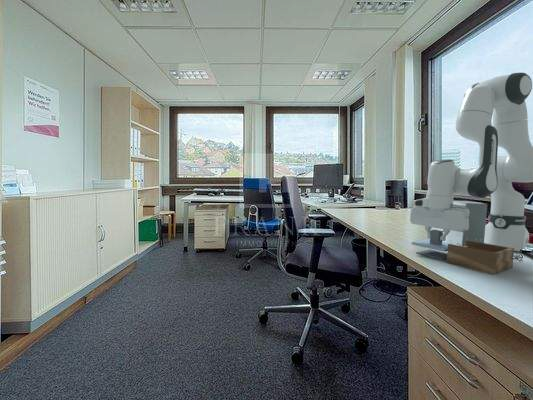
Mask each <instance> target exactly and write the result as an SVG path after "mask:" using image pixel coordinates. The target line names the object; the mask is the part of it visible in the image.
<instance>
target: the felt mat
mask: <svg viewBox="0 0 533 400" xmlns="http://www.w3.org/2000/svg"><path fill="white" fill-rule="evenodd" d="M415 254H418V255H422V256H425V257H429V258H433V259H437V260H442V261H444V260H447V252H443V251H439V250H434V249H430V248H428V249H425V250H421V251H417V252H415Z"/></svg>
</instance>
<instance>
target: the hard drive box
mask: <svg viewBox="0 0 533 400" xmlns="http://www.w3.org/2000/svg"><path fill="white" fill-rule="evenodd" d="M453 204H454V205H463V206H466V207H467V208H468V209H469V210H470V214H469V217H468V218H469V229H468V230H467V231H466V232H459V231H452V230H450V232H449V234H448V235H447V236H446V243H449V244H454V245H459V246H466V240H470V241H475V242H481V243H484V236H485V225H487V223H486V222H487V212H488V203H483V202H476V201H469V200H453ZM465 209H466V208H465Z"/></svg>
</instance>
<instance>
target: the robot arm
mask: <svg viewBox="0 0 533 400" xmlns="http://www.w3.org/2000/svg"><path fill="white" fill-rule="evenodd" d="M532 89H533V81H532V78H531V77H530V75H529V74H527V73H526V72H513V73H512V72H511V73H510V74H506V75H500V76H495V77H493V78H491V79H490V78H489V79H487V80H484V81H482V82H477V83H474V84H473V85H471V86H468V87H467V89H466V91H465V93H464V95H463V99H462V101H461V104H460V105H459V106H460V107H459V110H458V113H457V117H456V120H455V121H456V122H455V130H456V132H457V133H458V135H460V136H461V137H462V138H465V139H467V140H470V141H472V142H475V143H478V146H479V149H478V150H479V154H478V163H477V166H476V168H475V169H472V168H471V169H464V168H463V169H462V168H460V167H458V166H457V165H456V164H455V160H454V159H446V158H445V159H438V160H437V159H436V160H434V161H432V162H431V163H430V165H429V167H428V168H429V169H428V174H427V184H426V185H427V192H426V194H425V195H426V197H423V198H419V199H416V200H415V199H414V200H413V201H412V205H413V206H412V207H411V209H410V214H409V215H410V216H409V221H410V224H412V225H418V226H422V227H424V230H425V232H426V234H427V237H426V238H427V239H429V240H430V234H431V230H432V229H433V228H434V229H440V230H442V231H443V235H442V236H439V238H440V239H439V240H440V241H442V242H446V241H447V235H448V234H449V232H450V230H452V231H459V232H466V231H467V230H468V229H469V218H468V217H469V214H470V210H469V209H468V208H467V207H466V206H463V205H454V204H453V201H454V197H455V196H454V195H458V196H469V197H474V198H481V199H484V198H486V197H490V200H491V201H490V203H491V204H490V213H489V214H488V223H486V225H485V236H484V243H486V244H492V245H498V246H503V247H509V248H514V252H521V251H520V249H525V247H527V246H533V244H532V243H530V233H529V231H528V229H527V227H526V220H527V216H526V215H525V208H526V207H525V205H526V198H525V196H524V194H523V193H521V192H519V191H517V190H515V188H514V187H513V183H533V145H532V142H531V139H530V136H529V135H530V134H529V125H528V124H529V120H528V118H529V116H528V108H527V104H526V100H527V98H528V97H529V96H530V94H531V92H532ZM498 148H501V149H504V150H505V152H506V153H507V155H500V156H499V155H498V154H499V153H498ZM512 182H513V183H512ZM465 208H466V209H465Z"/></svg>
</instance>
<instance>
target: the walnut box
mask: <svg viewBox="0 0 533 400" xmlns="http://www.w3.org/2000/svg"><path fill="white" fill-rule="evenodd" d="M446 253H447V259H446V264H451V265H455V266H459V267H463V268H467V269H470V270H474V271H478V272H482V273H487V274H491V275H497V274H499V273H502V272H505V271H508V270H509V269H513V266H514V265H513V264H514V255H515V251H514V248H509V247H503V246H498V245H492V244H486V243H481V242H475V241H470V240H466V246H458V245H453V244H448V251H446Z"/></svg>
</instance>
